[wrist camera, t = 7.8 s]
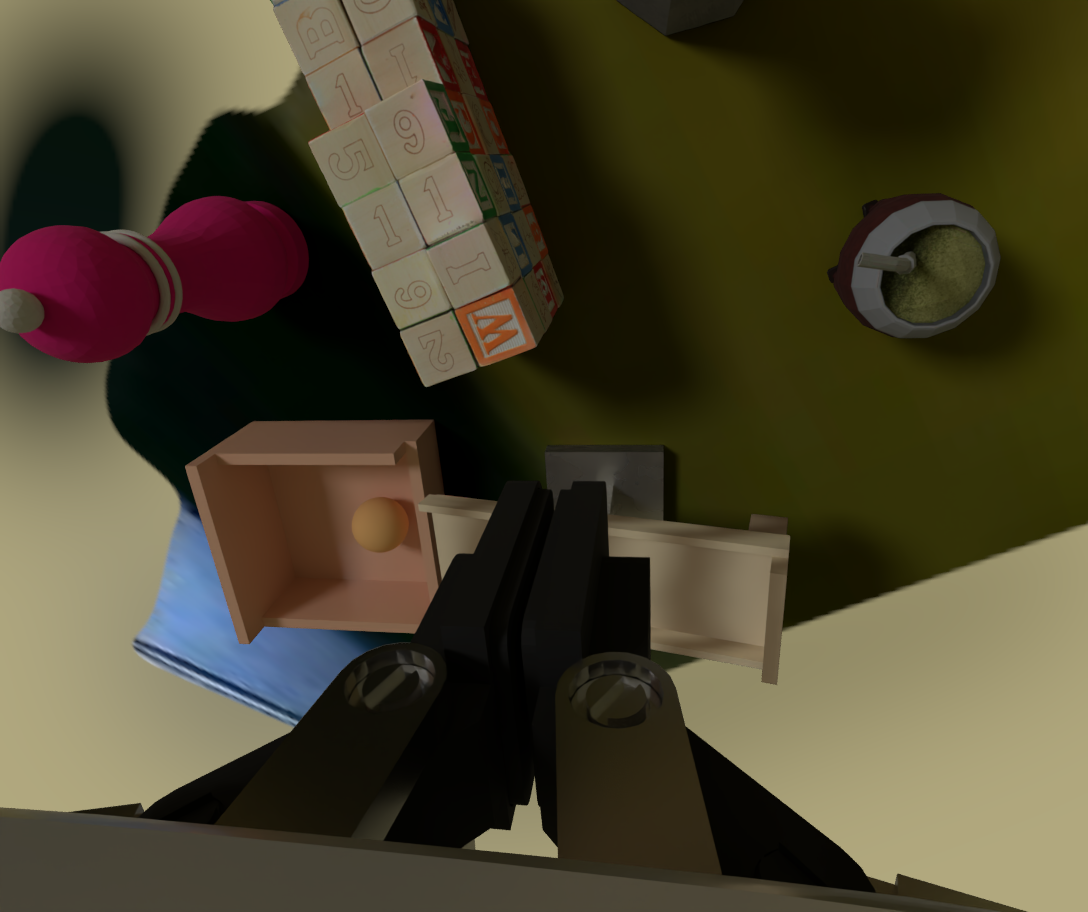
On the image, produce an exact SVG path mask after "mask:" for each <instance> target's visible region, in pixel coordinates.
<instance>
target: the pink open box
mask: <svg viewBox="0 0 1088 912" xmlns="http://www.w3.org/2000/svg"><path fill="white" fill-rule="evenodd" d="M185 468H186V471H187V475H188V478H189V481H190V484H191V488H192V491H193V494H194V497H195V501H196V504H197V507H198V511H199V514H200V517H201V520H202V524H203V527H204V530H205V533H206V537H207V540H208V543H209V546H210V550H211V553H212V556H213V559H214V563H215V566H216V569H217V572H218V576H219V579H220V582H221V586H222V589H223V592H224V595H225V599H226V602H227V605H228V608H229V612H230V615H231V618H232V621H233V625H234V628H235V631H236V634H237V638H238V641H239V644H250V643H251V642H252V641H253V639H254V638H255V637H256V636H257V635H258V633H259V632H260V631H261V630H262V629H263V627H264V626H265V627H287V628H309V629H331V630H353V631H375V632H397V633H415V632H416V631H417V629H418V627H419V625H420V623H421V621H422V619H423V617H424V615H425V613H426V611H427V609H428V607H429V605H430V603H431V601H432V599H433V597H434V595H435V593H436V591H437V589H438V587H439V585H440V583H441V581H442V577H441V570H440V564H439V557H438V550H437V544H436V537H435V531H434V524H433V517H432V513H430V512H422V511H419V507H418V504H419V503H420V502H421V501H422V500H423V499H424V498H425V497H427V496H428V495H429V494H431V495H437V494H439V495H445V494H444V487H443V480H442V473H441V466H440V459H439V451H438V444H437V437H436V430H435V423H434V420H348V421H253V422H252V423H250V424H248V425H247V426H245V427H244V428H242V429H241V430H239V431H238V432H236V433H235V434H233V435H232V436H230V437H229V438H227V439H226V440H224V441H223V442H221V443H220V444H218V445H217V446H215V447H213V448H212V449H210V450H209V451H207V452H206V453H204V454H203V455H201V456H200V457H198V458H197V459H195V460H194V461H192V462H191V463H189V464H188V465H186V466H185ZM376 497H386V498H390V499H392V500H395V501H396V502H398V503H399V504H400V505H401V506H402V507H403V508H404V510H405V512H406V514H407V516H408V521H409V527H408V532H407V535H406V537H405V539H404V540H403V542H402V543H401V544H400V545H399V546H397V547H396V548H394V549H393V550H391V551H388V552H383V553H377V552H371V551H369V550H366V549H365V548H363V547H362V546H361V545H360V544H359V543H358V542H357V541H356V539H355V538H354V535H353V532H352V519H353V516H354V513H355V512H356V510H357V509H358V507H359V506H360V505H361V504H362V503H364V502H365V501H367V500H369V499H372V498H376Z"/></svg>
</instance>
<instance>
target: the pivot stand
mask: <svg viewBox="0 0 1088 912" xmlns="http://www.w3.org/2000/svg"><path fill="white" fill-rule="evenodd" d="M545 462H546V476H547V489H552V492H553V499H554V508H555V507H556V503H557V500H558V496H559V493H560V490H561V489H571V486H572V483H573V481H605V482H606V488H607V512H608V514H610V515H619V516H628V517H636V518H645V519H653V520H662V521H663V464H664V450H663V445H547V448H546V450H545Z"/></svg>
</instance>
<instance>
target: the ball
mask: <svg viewBox="0 0 1088 912" xmlns="http://www.w3.org/2000/svg"><path fill="white" fill-rule="evenodd" d="M408 527H409V521H408V516H407V514H406V512H405V510H404V508H403V507H402V506H401V505H400V504H399V503H398V502H396V501H395V500H392V499H390V498H386V497H376V498H372V499H369V500H367V501H365V502H364V503H362V504H361V505H360V506H359V507H358V509H357V510H356V512H355V513H354V516H353V519H352V532H353V535H354V538H355V539H356V541H357V542H358V543H359V544H360V545H361V546H362V547H363V548H365V549H366V550H369V551H371V552H377V553H383V552H388V551H391V550H393V549H394V548H396V547H397V546H399V545H400V544H401V543H402V542H403V540H404V539H405V537H406V535H407V532H408Z"/></svg>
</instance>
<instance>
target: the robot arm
mask: <svg viewBox="0 0 1088 912" xmlns="http://www.w3.org/2000/svg"><path fill="white" fill-rule="evenodd" d="M650 659H651V587H650V557H614V556H609V538H608V512H607V488H606V482H605V481H573V483H572V486H571V489H561V490H560V493H559V496H558V500H557V503H556V507H555V510H554V499H553V492H552V489H542V487H541V483H540V481H507V483H506V484H505V486H504V489H503V491H502V493H501V495H500V497H499V499H498V502H497V504H496V506H495V508H494V510H493V512H492V515H491V517H490V519H489V521H488V523H487V525H486V528H485V530H484V532H483V534H482V536H481V538H480V540H479V543H478V545H477V547H476V549H475V551H474V553H473V554H470V553H459V554H456V555H455V557H454V558H453V560H452V562H451V564H450V565H449V567H448V569H447V571H446V573H445V575H444V577H443V579H442V581H441V583H440V585H439V587H438V589H437V591H436V593H435V595H434V597H433V599H432V601H431V603H430V605H429V607H428V609H427V611H426V613H425V615H424V617H423V619H422V621H421V623H420V625H419V627H418V629H417V631H416V632H415V634H414V636H413V638H412V640H411V642H410V643H395V644H389V645H383V646H380V647H378V648H375V649H372V650H369V651H367V652H365V653H364V654H362V655H360V656H359V657H357V658H355V659H354V660H352V661H351V662H350V663H349V664H348V665H347V666H346V667H345V668H344V669H343V670H342V671H341V672H340V673H339V674H338V675H337V676H336V678H335V679H334V680H333V681H332V682H331V684H330V685H329V686H328V687H327V689H326V690H325V691H324V692H323V693H322V695H321V696H320V697H319V698H318V699H317V701H316V702H315V703H314V704H313V705H312V707H311V708H310V709H309V710H308V712H307V713H306V714H305V715H304V716H303V718H302V719H301V720H300V721H299V722H298V724H297V725H296V726H295V727H294V728H293V730H292V731H291V732H290V733H288V734H286V735H284V736H282V737H280V738H278V739H276V740H274V741H272V742H270V743H268V744H266V745H264V746H262V747H260V748H258V749H256V750H254V751H252V752H250V753H248V754H246V755H244V756H242V757H240V758H238V759H236V760H234V761H232V762H230V763H228V764H226V765H224V766H222V767H220V768H218V769H216V770H214V771H212V772H210V773H208V774H206V775H204V776H202V777H200V778H198V779H196V780H194V781H192V782H190V783H188V784H186V785H184V786H182V787H180V788H178V789H176V790H174V791H173V792H171V793H170V794H168V795H166V796H165V797H163V798H161V799H160V800H158V801H157V802H155V803H154V804H153V805H152V806H150V807H149V808H148V809H147V810H146V811H145V812H144V810H143V808H142V805H141V803H137V804H129V805H121V806H113V807H105V808H98V809H90V810H81V811H74V812H57V811H42V810H29V809H15V808H0V912H1026V911H1023V910H1019V909H1016V908H1013V907H1009V906H1006V905H1003V904H999V903H995V902H992V901H989V900H985V899H982V898H978V897H975V896H972V895H969V894H965V893H962V892H958V891H955V890H951V889H948V888H945V887H941V886H938V885H935V884H931V883H928V882H924V881H921V880H917V879H914V878H910V877H907V876H904V875H901V874H897V877H896V882H895V885H894V884H891V883H888V882H884V881H881V880H878V879H874V878H871V877H868V876H866V874H865V873H864V871H863V870H862V868H861V867H860V866H859V865H858V864H857V863H856V862H855V861H854V860H853V859H852V858H851V857H850V856H849V855H848V854H847V853H846V852H845V851H844V850H843V849H841V848H840V847H839V846H838V845H837V844H835V843H834V842H833V841H832V840H830V839H829V838H828V837H826V836H825V835H824V834H823V833H821V832H820V831H819V830H817V829H816V828H815V827H814V826H812V825H811V824H810V823H808V822H807V821H806V820H805V819H803V818H802V817H801V816H799V815H798V814H797V813H796V812H794V811H793V810H792V809H791V808H789V807H788V806H787V805H786V804H784V803H783V802H782V801H780V800H779V799H778V798H777V797H775V796H774V795H772V794H771V793H770V792H769V791H768V790H766V789H765V788H764V787H763V786H761V785H760V784H759V783H757V782H756V781H755V780H754V779H752V778H751V777H750V776H748V775H747V774H746V773H745V772H743V771H742V770H741V769H739V768H738V767H737V766H736V765H734V764H733V763H732V762H731V761H729V760H728V759H727V758H725V757H724V756H723V755H722V754H720V753H719V752H718V751H716V750H715V749H714V748H713V747H711V746H710V745H709V744H708V743H706V742H705V741H704V740H702V739H701V738H700V737H698V736H697V735H696V734H695V733H694V732H692V731H691V730H690V729H688V728H687V727H686V726H685V723H684V719H683V715H682V711H681V707H680V703H679V699H678V694H677V690H676V687H675V685H674V683H673V681H672V679H671V677H670V676H669V674H668V673H667V672H666V671H665V670H664V669H663V668H662V667H661V666H660V665H658V664H656V663H654V662H653V661H651V660H650ZM534 776H535V782H536V792H537V801H538V805H539V807H540V809H541V819H542V828H543V831H544V832H545V833H546V834H547V835H548V837H549V838H550V839H551V840H552V841H553V843H554V844H555V845H556V846H557V847H558V858H551V857H540V856H532V855H522V854H512V853H511V854H510V853H501V852H491V851H480V850H475V840H474V839H475V838H477V837H478V836H480V835H481V834H483V833H484V832H485V831H487V830H489V829H490V828H492V829H502V830H511V825H512V821H513V816H514V811H515V807H516V805H528V803H529V801H530V796H531V791H532V786H533V781H534Z"/></svg>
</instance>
